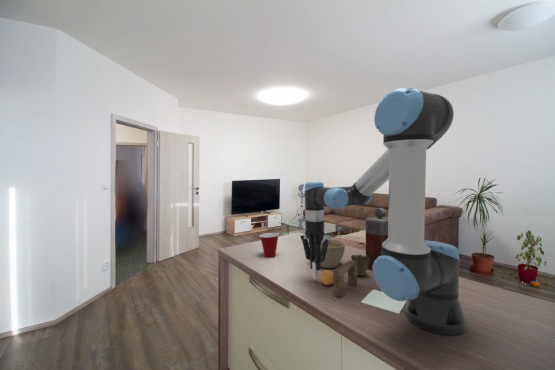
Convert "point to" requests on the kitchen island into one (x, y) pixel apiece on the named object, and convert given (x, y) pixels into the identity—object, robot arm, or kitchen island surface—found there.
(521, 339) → the kitchen island surface
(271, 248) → the plastic cup
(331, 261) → the planter bowl
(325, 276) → the ball
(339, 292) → the bridge
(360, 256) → the green lump
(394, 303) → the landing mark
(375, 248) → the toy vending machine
